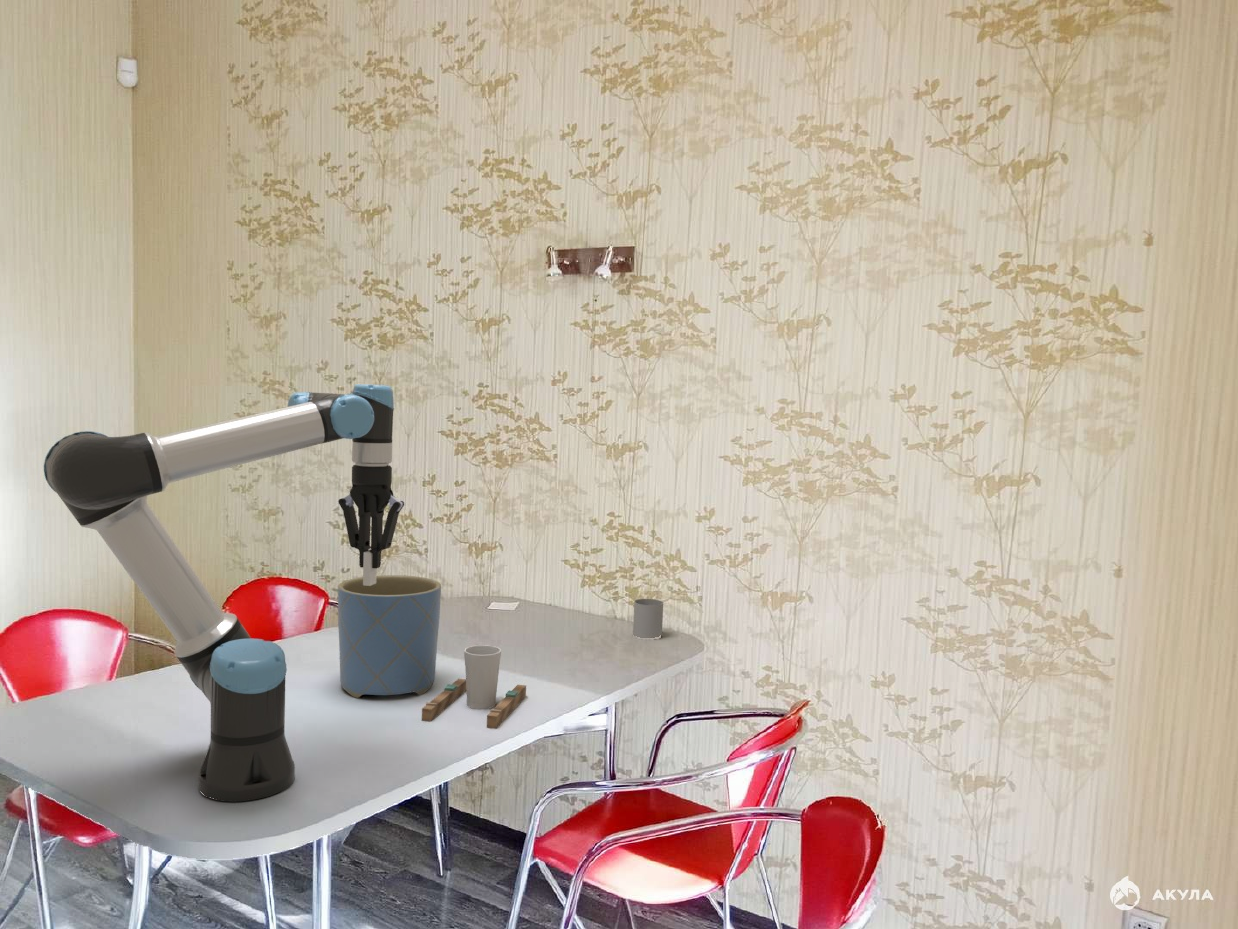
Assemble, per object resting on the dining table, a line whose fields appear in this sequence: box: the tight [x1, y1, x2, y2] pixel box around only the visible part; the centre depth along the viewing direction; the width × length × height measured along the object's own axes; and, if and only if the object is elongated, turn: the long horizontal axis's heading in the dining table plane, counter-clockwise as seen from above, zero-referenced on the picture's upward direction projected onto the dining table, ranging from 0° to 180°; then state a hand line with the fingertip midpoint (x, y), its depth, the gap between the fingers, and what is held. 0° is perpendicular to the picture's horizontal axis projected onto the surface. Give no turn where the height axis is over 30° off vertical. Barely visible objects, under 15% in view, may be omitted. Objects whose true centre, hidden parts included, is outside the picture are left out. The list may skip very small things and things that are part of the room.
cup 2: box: [632, 598, 664, 638], centre depth 262 cm, size 8×8×10 cm
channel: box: [421, 678, 527, 729], centre depth 197 cm, size 21×16×3 cm
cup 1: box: [463, 644, 502, 710], centre depth 199 cm, size 8×8×12 cm
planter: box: [337, 574, 442, 699], centre depth 209 cm, size 23×23×24 cm
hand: (369, 584), depth 179 cm, fingers closed
